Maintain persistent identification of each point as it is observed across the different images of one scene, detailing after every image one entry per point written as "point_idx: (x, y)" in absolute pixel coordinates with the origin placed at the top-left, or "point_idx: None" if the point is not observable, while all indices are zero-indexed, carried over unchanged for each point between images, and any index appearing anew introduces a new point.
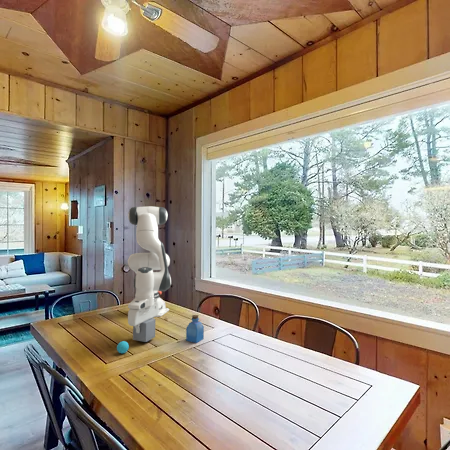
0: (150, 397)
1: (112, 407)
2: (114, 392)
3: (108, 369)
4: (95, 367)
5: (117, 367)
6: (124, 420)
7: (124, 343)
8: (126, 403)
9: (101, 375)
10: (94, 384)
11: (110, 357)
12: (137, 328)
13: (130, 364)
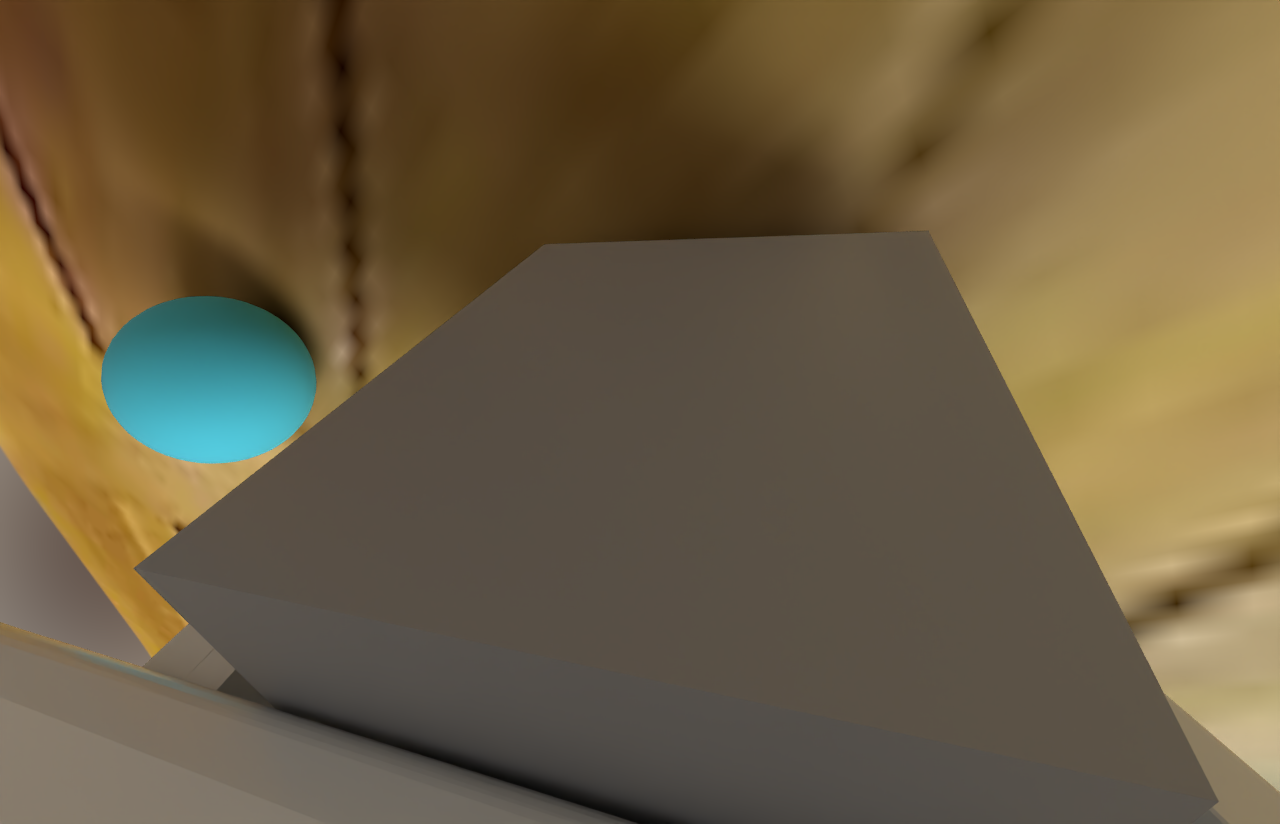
0: None
1: (119, 603)
2: (133, 574)
3: (113, 430)
4: (6, 317)
5: (178, 469)
6: (150, 649)
7: (169, 454)
8: (169, 631)
9: (66, 439)
10: (33, 464)
11: (141, 293)
12: None
13: None
